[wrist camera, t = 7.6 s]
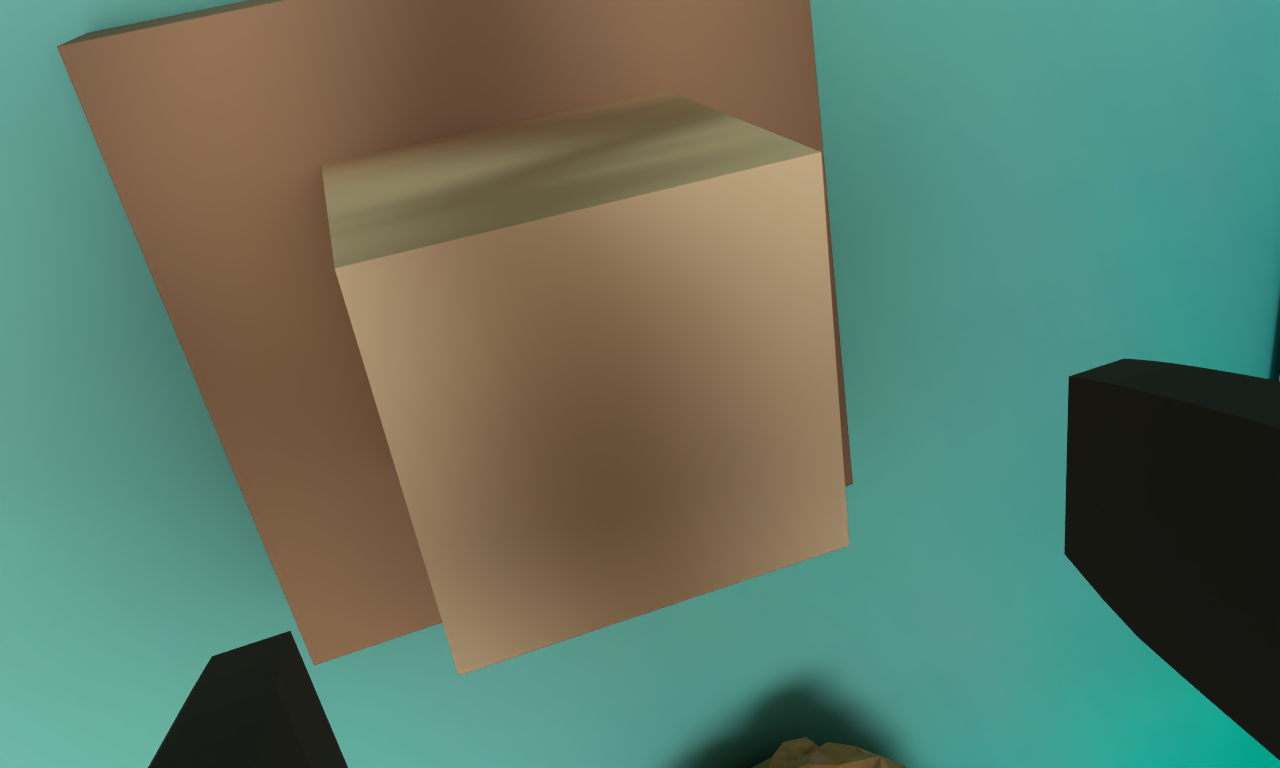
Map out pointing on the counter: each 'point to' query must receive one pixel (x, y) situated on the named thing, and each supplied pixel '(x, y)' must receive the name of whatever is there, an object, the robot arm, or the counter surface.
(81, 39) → the walnut base
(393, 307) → the maple cube
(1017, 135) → the counter surface
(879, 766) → the brown rock
